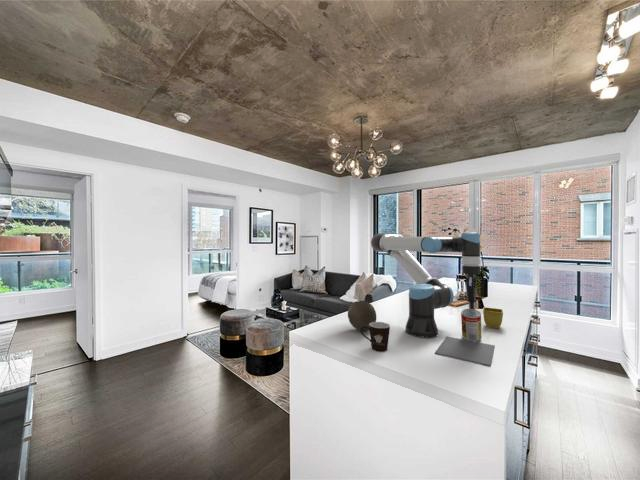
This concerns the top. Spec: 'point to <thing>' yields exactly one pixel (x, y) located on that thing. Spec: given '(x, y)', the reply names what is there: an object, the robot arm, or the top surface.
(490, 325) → the flower pot
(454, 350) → the mat
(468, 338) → the canned food
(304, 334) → the top surface
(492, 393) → the top surface
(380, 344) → the coffee mug
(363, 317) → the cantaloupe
